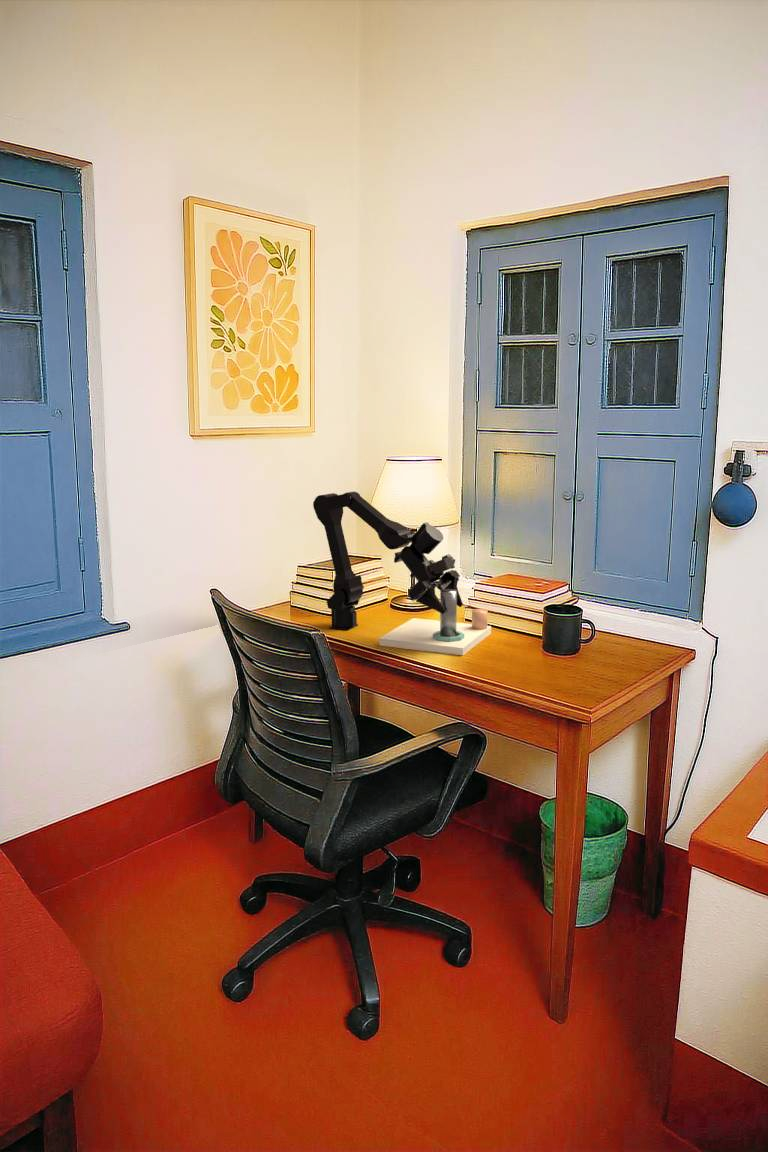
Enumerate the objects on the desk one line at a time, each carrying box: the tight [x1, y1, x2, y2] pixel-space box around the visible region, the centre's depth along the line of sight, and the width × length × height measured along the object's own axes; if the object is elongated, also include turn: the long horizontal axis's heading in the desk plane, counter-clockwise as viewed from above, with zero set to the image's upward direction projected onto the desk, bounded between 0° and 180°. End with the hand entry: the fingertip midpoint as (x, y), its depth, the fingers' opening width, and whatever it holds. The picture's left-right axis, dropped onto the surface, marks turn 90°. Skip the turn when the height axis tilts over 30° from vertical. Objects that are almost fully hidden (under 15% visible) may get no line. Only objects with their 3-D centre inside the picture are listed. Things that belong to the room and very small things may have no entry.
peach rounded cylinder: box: [471, 608, 489, 630], centre depth 247 cm, size 4×4×5 cm
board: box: [378, 617, 492, 656], centre depth 244 cm, size 24×24×3 cm
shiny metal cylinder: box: [439, 589, 458, 637], centre depth 237 cm, size 4×4×13 cm
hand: (453, 609), depth 236 cm, fingers open, 9 cm apart
